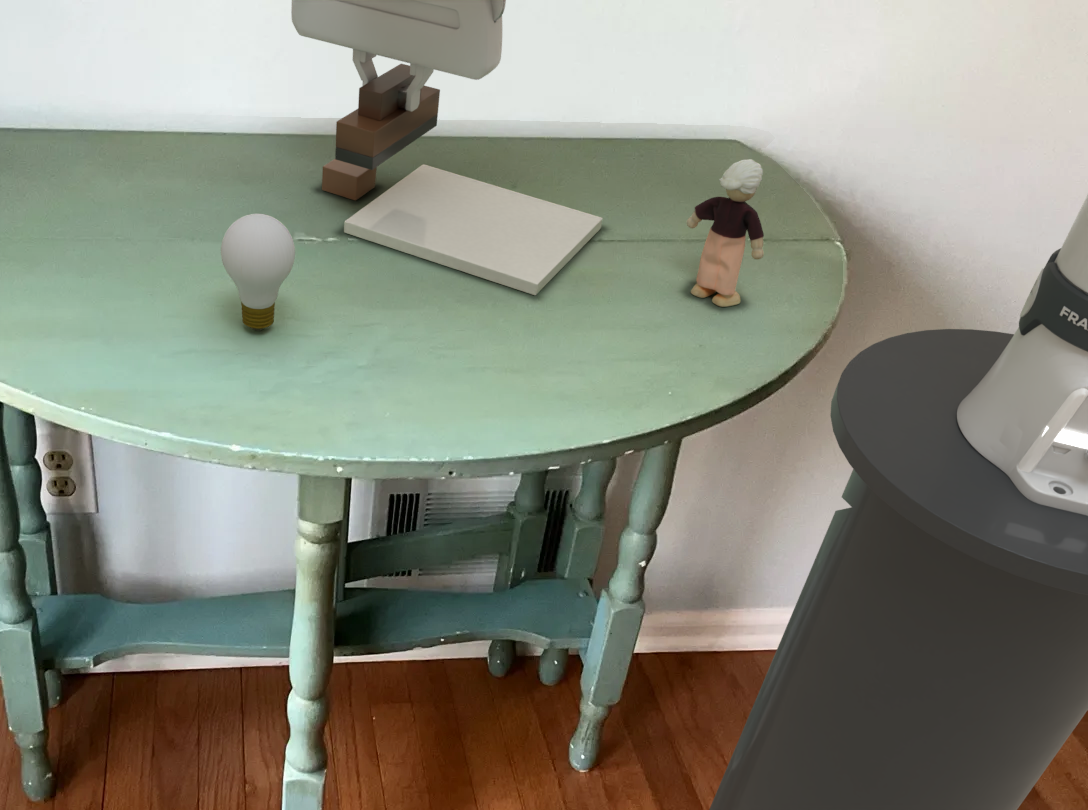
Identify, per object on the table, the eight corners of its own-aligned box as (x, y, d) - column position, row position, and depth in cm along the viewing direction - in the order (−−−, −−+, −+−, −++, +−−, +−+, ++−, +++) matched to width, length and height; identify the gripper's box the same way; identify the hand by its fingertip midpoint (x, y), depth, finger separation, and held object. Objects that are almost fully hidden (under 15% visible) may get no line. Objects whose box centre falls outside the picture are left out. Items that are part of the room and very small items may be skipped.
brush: (401, 116, 119) (406, 54, 115) (437, 125, 118) (442, 63, 114) (334, 159, 111) (337, 94, 107) (372, 170, 109) (375, 104, 105)
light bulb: (304, 320, 101) (308, 210, 94) (274, 354, 96) (276, 241, 90) (242, 304, 102) (241, 194, 95) (209, 336, 98) (206, 224, 91)
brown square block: (375, 186, 121) (377, 163, 119) (355, 201, 118) (357, 177, 116) (341, 176, 122) (343, 153, 120) (321, 190, 119) (322, 166, 118)
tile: (600, 228, 117) (603, 217, 116) (535, 296, 106) (537, 284, 105) (421, 174, 124) (423, 163, 123) (343, 232, 113) (344, 221, 112)
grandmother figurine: (756, 299, 108) (798, 166, 100) (742, 316, 106) (784, 181, 97) (678, 272, 111) (712, 140, 103) (662, 288, 109) (696, 154, 100)
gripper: (524, -41, 101) (504, 119, 110) (320, -84, 108) (316, 69, 117) (493, -24, 97) (474, 141, 106) (282, -70, 104) (281, 88, 113)
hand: (390, 103), depth 112 cm, fingers closed on brush, 2 cm apart
